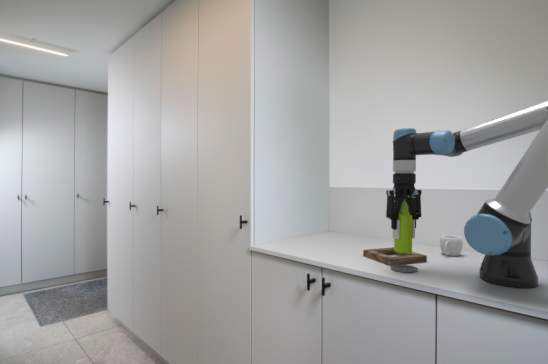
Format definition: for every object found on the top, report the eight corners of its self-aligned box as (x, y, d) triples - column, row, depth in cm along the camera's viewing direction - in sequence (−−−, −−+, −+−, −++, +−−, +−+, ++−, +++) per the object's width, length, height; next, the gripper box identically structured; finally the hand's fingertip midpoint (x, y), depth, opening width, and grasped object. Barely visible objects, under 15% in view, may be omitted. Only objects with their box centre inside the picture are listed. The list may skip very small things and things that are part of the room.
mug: (443, 251, 144) (443, 233, 144) (465, 254, 139) (465, 236, 139) (434, 256, 136) (434, 237, 136) (457, 259, 130) (457, 240, 130)
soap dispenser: (416, 254, 113) (417, 195, 113) (395, 252, 114) (396, 195, 114) (413, 250, 118) (413, 195, 118) (393, 249, 120) (393, 194, 120)
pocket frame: (426, 262, 126) (426, 255, 126) (390, 265, 121) (390, 259, 121) (396, 252, 142) (396, 247, 142) (363, 255, 137) (363, 249, 137)
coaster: (423, 271, 113) (423, 269, 113) (402, 274, 110) (402, 272, 110) (405, 265, 122) (405, 263, 122) (385, 267, 119) (385, 265, 119)
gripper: (417, 173, 122) (417, 234, 123) (375, 172, 116) (374, 237, 117) (433, 172, 115) (433, 238, 116) (388, 172, 109) (388, 241, 109)
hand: (403, 237), depth 116 cm, fingers closed on soap dispenser, 6 cm apart
